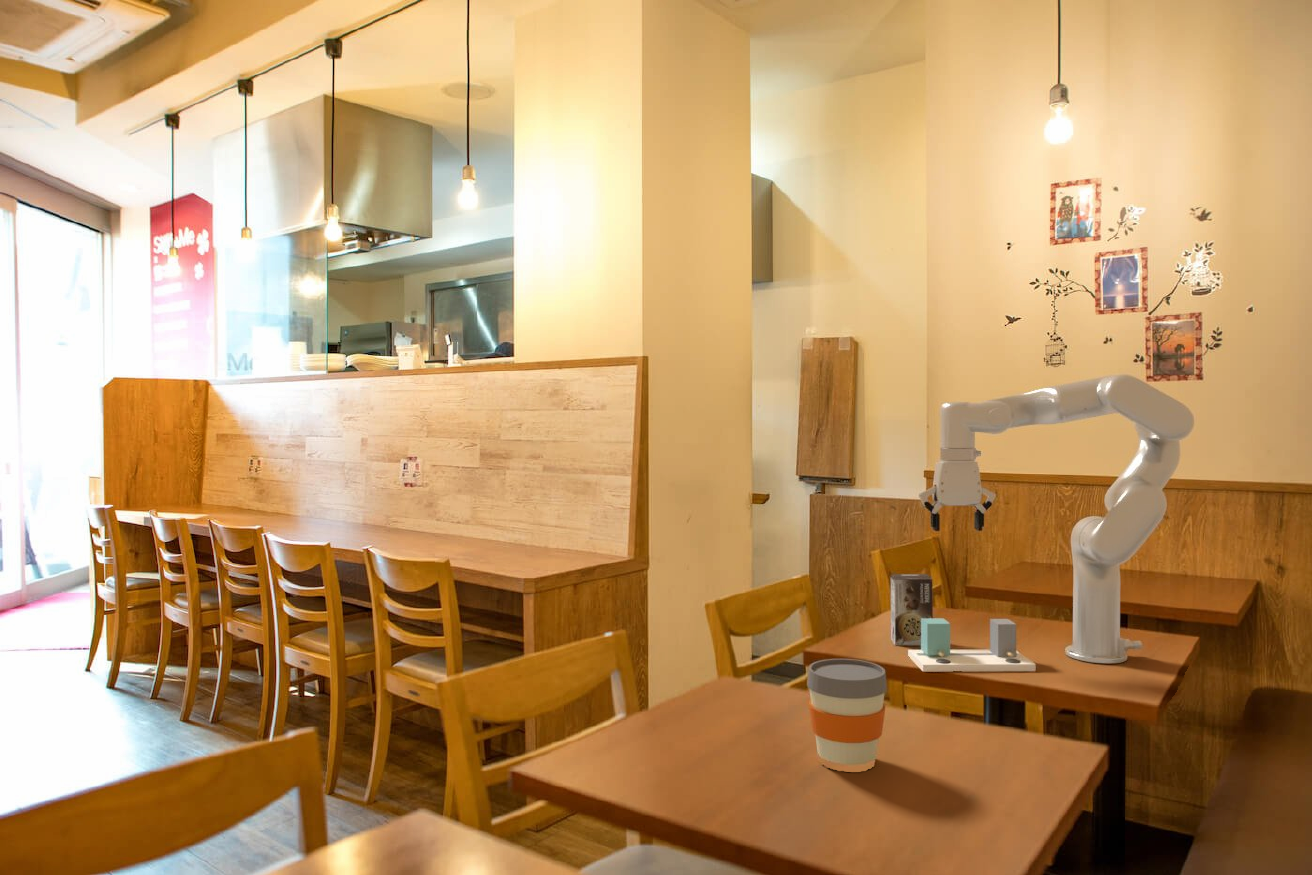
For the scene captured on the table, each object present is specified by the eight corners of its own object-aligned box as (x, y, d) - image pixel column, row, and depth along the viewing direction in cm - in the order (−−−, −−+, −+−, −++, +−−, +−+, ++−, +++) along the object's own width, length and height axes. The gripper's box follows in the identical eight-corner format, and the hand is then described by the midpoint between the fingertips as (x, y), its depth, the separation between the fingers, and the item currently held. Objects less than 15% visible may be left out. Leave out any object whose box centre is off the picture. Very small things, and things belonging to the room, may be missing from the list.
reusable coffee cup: (792, 753, 149) (792, 662, 148) (858, 742, 153) (858, 654, 153) (833, 782, 137) (833, 684, 136) (903, 770, 141) (903, 675, 141)
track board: (1014, 655, 205) (1014, 617, 205) (1035, 671, 193) (1035, 630, 193) (908, 656, 206) (908, 617, 205) (922, 671, 194) (923, 630, 193)
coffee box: (928, 639, 220) (928, 573, 220) (933, 646, 214) (933, 578, 213) (890, 638, 221) (890, 573, 221) (894, 645, 215) (894, 578, 214)
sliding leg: (943, 649, 204) (943, 618, 204) (954, 658, 196) (954, 626, 196) (921, 649, 204) (921, 618, 204) (930, 658, 196) (931, 626, 196)
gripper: (989, 454, 211) (989, 527, 211) (915, 455, 211) (914, 528, 211) (1001, 456, 203) (1001, 532, 204) (924, 457, 203) (924, 532, 204)
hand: (957, 530), depth 208 cm, fingers open, 9 cm apart
